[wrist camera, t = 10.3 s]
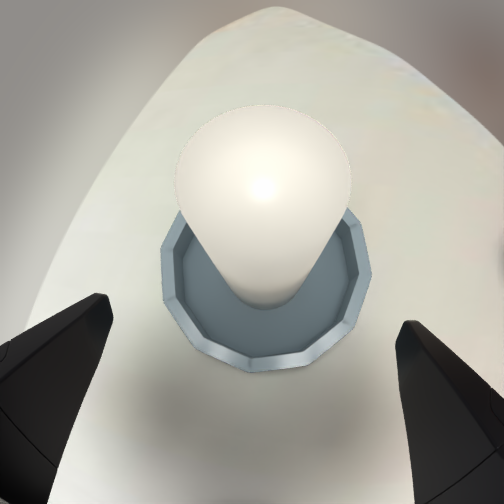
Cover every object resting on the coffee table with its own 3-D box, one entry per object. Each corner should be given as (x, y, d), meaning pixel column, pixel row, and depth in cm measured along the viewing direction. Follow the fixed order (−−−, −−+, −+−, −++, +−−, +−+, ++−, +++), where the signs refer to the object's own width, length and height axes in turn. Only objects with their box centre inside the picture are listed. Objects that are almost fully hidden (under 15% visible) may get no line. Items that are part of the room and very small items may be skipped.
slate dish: (315, 393, 20) (323, 401, 16) (147, 318, 21) (129, 314, 18) (376, 227, 23) (390, 210, 19) (221, 168, 24) (215, 145, 21)
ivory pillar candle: (285, 321, 20) (317, 289, 8) (215, 291, 21) (143, 218, 8) (313, 252, 21) (369, 136, 9) (245, 225, 22) (221, 89, 10)
